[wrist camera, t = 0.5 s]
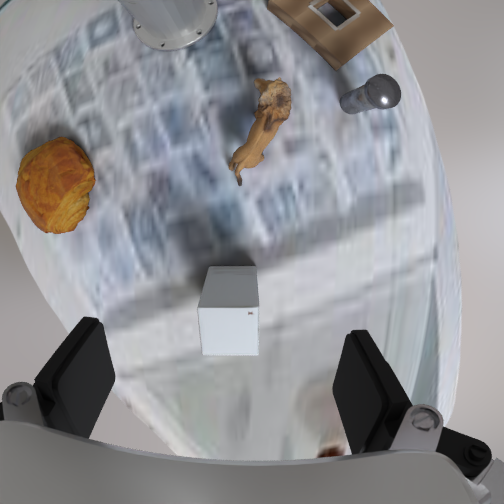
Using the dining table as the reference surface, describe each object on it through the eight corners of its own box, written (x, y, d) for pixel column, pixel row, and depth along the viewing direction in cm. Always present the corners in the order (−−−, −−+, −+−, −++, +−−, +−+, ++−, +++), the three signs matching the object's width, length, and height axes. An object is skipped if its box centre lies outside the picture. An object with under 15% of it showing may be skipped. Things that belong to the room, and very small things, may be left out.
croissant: (65, 237, 46) (44, 258, 39) (18, 171, 40) (-9, 183, 33) (120, 189, 44) (101, 205, 36) (68, 115, 37) (41, 118, 30)
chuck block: (267, 8, 33) (269, -2, 30) (320, -26, 31) (325, -36, 27) (336, 70, 37) (343, 64, 33) (384, 32, 34) (394, 25, 31)
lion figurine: (255, 83, 37) (258, 67, 29) (292, 95, 38) (304, 82, 30) (222, 180, 42) (216, 188, 33) (258, 191, 43) (262, 202, 34)
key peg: (331, 101, 38) (362, 86, 27) (350, 85, 37) (384, 67, 26) (350, 122, 39) (386, 115, 28) (368, 106, 38) (407, 95, 27)
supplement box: (208, 265, 46) (196, 305, 34) (257, 265, 46) (261, 306, 34) (210, 307, 48) (200, 356, 36) (256, 308, 48) (259, 356, 37)
